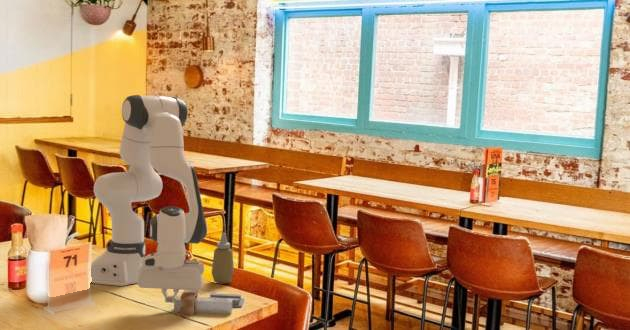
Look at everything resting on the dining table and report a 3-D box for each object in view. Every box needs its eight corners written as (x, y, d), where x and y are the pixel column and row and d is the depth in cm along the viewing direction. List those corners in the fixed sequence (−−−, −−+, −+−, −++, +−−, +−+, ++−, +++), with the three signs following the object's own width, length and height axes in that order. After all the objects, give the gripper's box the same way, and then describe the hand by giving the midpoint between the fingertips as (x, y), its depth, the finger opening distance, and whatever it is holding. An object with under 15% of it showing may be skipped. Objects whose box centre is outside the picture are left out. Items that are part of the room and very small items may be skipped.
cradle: (204, 305, 241) (204, 299, 241) (208, 298, 249) (208, 292, 249) (241, 307, 241) (241, 301, 241) (244, 300, 249) (244, 294, 249)
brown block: (180, 314, 231) (180, 295, 231) (184, 306, 239) (185, 288, 238) (193, 315, 231) (193, 296, 231) (197, 307, 239) (197, 289, 238)
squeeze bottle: (229, 286, 265) (231, 236, 263) (208, 283, 267) (209, 234, 265) (236, 280, 273) (238, 232, 271) (215, 278, 275) (216, 230, 273)
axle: (173, 311, 234) (174, 299, 233) (176, 308, 238) (176, 296, 237) (231, 314, 234) (231, 302, 233) (232, 310, 238) (232, 298, 237)
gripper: (205, 258, 236) (204, 300, 238) (141, 255, 236) (140, 297, 238) (202, 263, 230) (201, 306, 232) (136, 260, 230) (135, 303, 232)
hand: (170, 302), depth 235 cm, fingers closed
